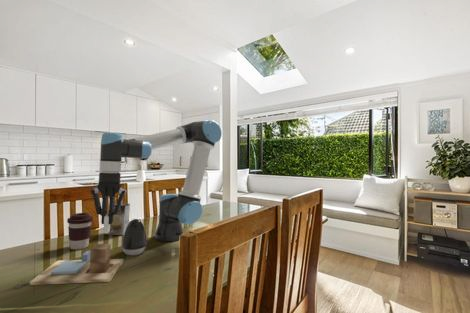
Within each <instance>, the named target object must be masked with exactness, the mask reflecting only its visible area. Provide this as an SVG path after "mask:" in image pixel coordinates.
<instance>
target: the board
mask: <svg viewBox="0 0 470 313" xmlns="http://www.w3.org/2000/svg"><path fill="white" fill-rule="evenodd" d="M64 261H82V259H67V260H63V259H62V260H61V259H60V260H56V261H55V262H54V263H52V264H51V265H49V267H47V268H46V269H44V270H43V271H42V272H40V273H39V274H38V275H36V277H34V278H33V279H31V280H30V281H29V285H31V286H32V285H33V286H35V285H37V286H38V285H55V284H56V285H59V284H61V285H62V284H81V283H82V284H83V283H85V284H87V283H88V284H89V283H109V282H111V281H112V279H113V278H114V276H115V274H116V273H117V272H118V271H119V270H120V269H119V268H120V267H121V266H122V264H123V263H124V261H125V260H124V258H110V266H109V269H108V270H107V272H106V273H90V261H89V262H88V263H87V264H86V265H85V266H84V267H83V268H82V269H81V270H80V271H79V272H78V273H77V274H52V275H51V272H52V271H53V270H54V269H55V268H57V267H58V266H59V265H60V264H61V263H63V262H64Z"/></svg>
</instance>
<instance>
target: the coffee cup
mask: <svg viewBox="0 0 470 313" xmlns="http://www.w3.org/2000/svg"><path fill="white" fill-rule="evenodd" d="M93 220H94V217H93V216H92V215H90V213H88V212H79V213H73V214H72V215H71V216H70V217H68V218H67V223H68V227H67V228H68V230H67V231H68V240H69V241H68V242H69V249H71V250H75V251H76V250H77V251H78V250H82V249H85V248H87V247H89V244H90V243H89V242H90V237H91V232H92V230H91V229H92V222H93Z"/></svg>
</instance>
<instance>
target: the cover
mask: <svg viewBox="0 0 470 313" xmlns="http://www.w3.org/2000/svg"><path fill="white" fill-rule="evenodd" d="M90 252H91V250H85V252H84V253H83V254H82V255H81V260H82V261H64V262H63V263H61V264H60V265H59V266H58V267H57V268H55V269H54V270H53V271H52V272H51V275H52V274H77V273H78V272H79V271H80V270H81V269H82V268H83V267H84V266H85V265H86V264H87V263H88V262H89V261H90Z"/></svg>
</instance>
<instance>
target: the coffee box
mask: <svg viewBox="0 0 470 313" xmlns="http://www.w3.org/2000/svg"><path fill="white" fill-rule="evenodd" d="M116 204H117V202H114V210H115V207H116ZM130 208H131V204H130V203H125V202H124V203H123V202H122V203H121V206H120V210H119V213H117V214H116V215H113V223H112V224H110V232H108V233H106V235H111V236H112V235H113V236H124V233H125V230H126V227H127V225H128V224H129V222H130V211H131V210H130Z"/></svg>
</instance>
